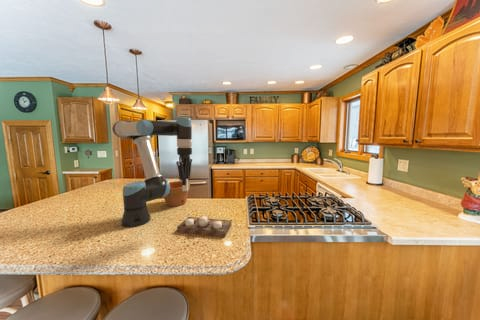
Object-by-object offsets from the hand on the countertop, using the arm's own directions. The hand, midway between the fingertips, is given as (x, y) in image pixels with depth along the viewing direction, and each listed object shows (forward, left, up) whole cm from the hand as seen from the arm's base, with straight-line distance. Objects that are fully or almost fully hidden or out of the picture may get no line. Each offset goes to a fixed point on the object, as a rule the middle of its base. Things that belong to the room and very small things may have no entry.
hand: (185, 190), depth 103 cm
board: (+11, 0, -21) cm, 24 cm away
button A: (+3, -2, -20) cm, 20 cm away
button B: (+11, -2, -18) cm, 21 cm away
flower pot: (-27, +35, -21) cm, 49 cm away
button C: (+19, -2, -20) cm, 27 cm away
